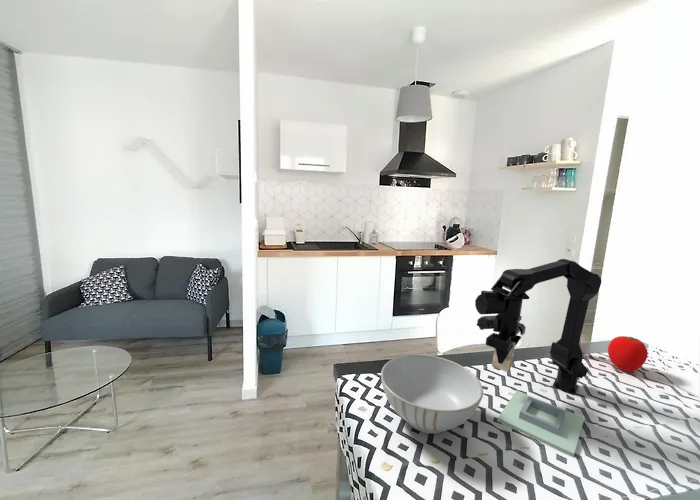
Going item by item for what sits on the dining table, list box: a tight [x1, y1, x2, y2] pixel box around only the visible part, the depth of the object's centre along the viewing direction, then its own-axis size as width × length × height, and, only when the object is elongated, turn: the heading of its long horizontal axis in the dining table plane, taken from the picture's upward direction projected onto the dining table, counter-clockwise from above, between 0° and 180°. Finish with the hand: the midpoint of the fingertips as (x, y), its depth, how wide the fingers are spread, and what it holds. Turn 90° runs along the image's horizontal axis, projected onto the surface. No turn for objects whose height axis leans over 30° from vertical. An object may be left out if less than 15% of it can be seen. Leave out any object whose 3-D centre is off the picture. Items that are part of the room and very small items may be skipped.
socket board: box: [497, 390, 585, 458], centre depth 94 cm, size 18×18×3 cm
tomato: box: [607, 335, 648, 373], centre depth 124 cm, size 11×11×13 cm
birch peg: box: [491, 342, 516, 373], centre depth 103 cm, size 4×4×8 cm
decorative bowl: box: [380, 353, 484, 434], centre depth 92 cm, size 27×27×12 cm
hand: (502, 360), depth 103 cm, fingers closed on birch peg, 4 cm apart
